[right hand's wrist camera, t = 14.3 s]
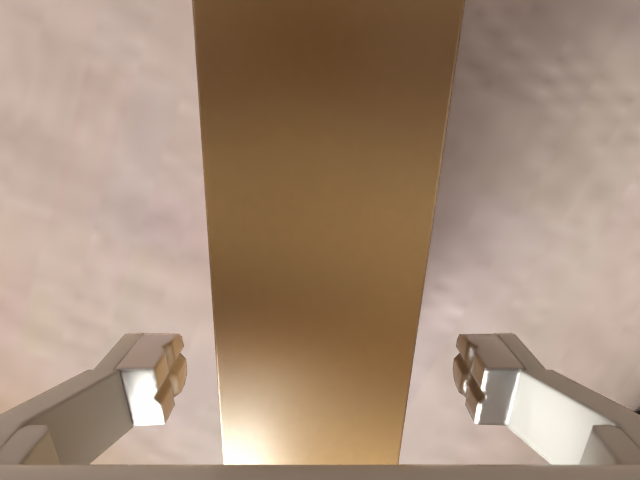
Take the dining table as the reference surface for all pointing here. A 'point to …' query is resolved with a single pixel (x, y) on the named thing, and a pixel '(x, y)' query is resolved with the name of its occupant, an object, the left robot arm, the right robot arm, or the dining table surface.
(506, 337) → the right robot arm
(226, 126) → the bar
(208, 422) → the dining table surface
